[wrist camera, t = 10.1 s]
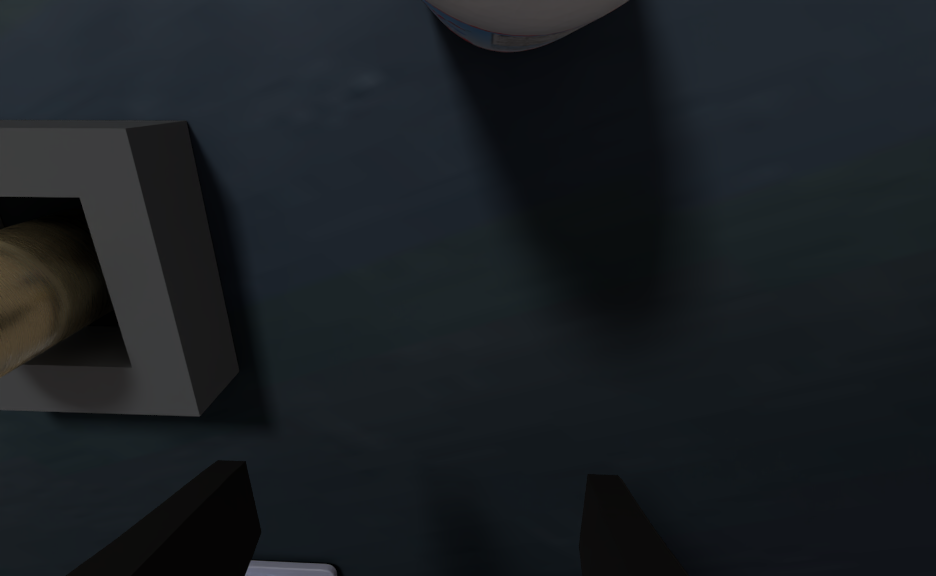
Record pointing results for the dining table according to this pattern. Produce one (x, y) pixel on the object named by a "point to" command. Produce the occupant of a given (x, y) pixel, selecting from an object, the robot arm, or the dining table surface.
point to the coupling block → (126, 269)
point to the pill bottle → (518, 20)
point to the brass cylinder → (47, 285)
